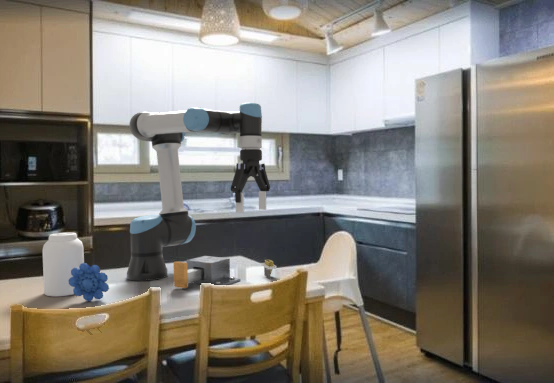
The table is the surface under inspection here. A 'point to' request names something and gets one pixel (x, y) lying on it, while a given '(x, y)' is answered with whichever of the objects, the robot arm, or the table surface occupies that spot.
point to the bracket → (213, 270)
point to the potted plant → (268, 268)
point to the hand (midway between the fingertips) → (251, 211)
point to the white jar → (61, 262)
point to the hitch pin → (186, 274)
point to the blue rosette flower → (88, 282)
